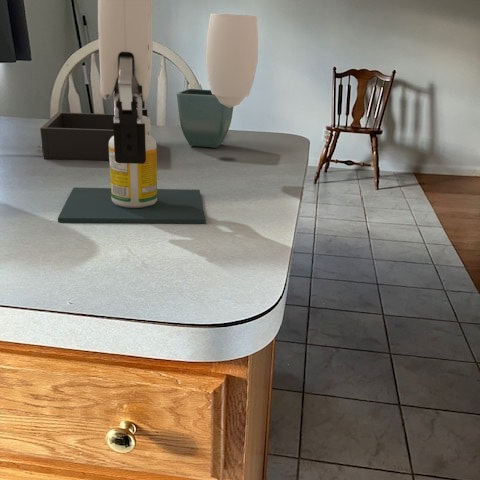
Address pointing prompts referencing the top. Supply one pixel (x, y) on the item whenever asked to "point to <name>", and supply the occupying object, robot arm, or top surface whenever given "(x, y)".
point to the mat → (105, 211)
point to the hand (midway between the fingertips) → (132, 152)
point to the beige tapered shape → (231, 56)
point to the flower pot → (203, 117)
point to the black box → (77, 136)
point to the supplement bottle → (135, 176)
